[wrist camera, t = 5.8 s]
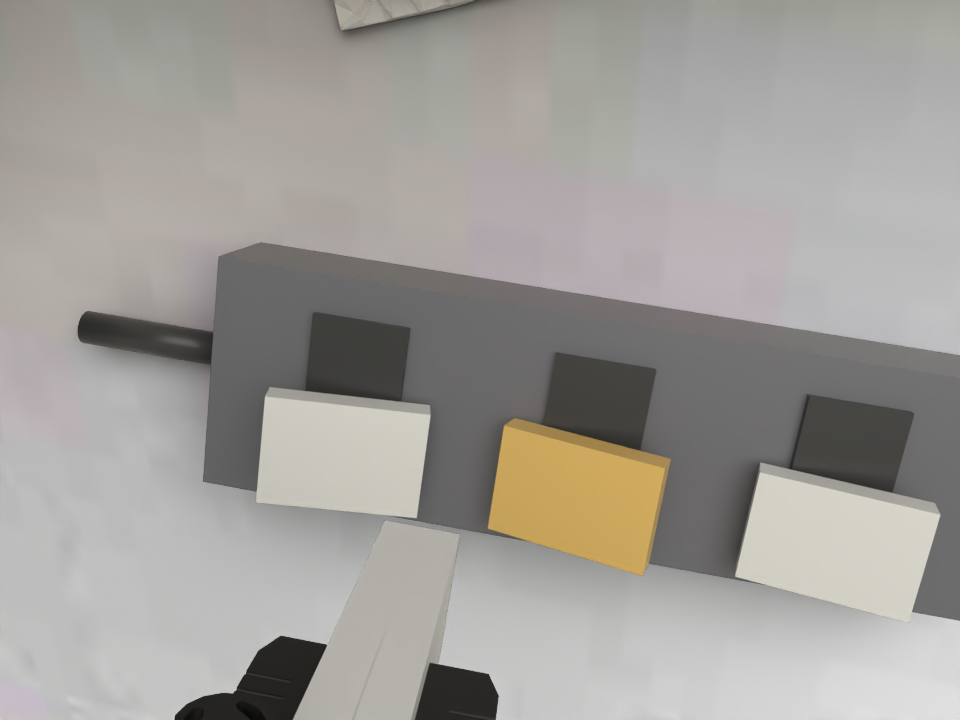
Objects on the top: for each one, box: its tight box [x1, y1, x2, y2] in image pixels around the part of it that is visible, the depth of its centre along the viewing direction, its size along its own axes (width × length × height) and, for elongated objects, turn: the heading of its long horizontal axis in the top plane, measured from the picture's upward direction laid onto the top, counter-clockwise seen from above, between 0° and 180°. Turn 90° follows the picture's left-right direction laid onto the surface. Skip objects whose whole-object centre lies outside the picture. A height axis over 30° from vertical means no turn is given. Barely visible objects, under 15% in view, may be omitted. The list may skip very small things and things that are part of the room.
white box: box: [256, 387, 431, 518], centre depth 30 cm, size 5×4×1 cm
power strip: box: [78, 243, 960, 621], centre depth 32 cm, size 32×8×4 cm, turn 82°
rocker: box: [735, 462, 940, 623], centre depth 28 cm, size 5×4×1 cm
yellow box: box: [488, 418, 671, 576], centre depth 29 cm, size 5×4×1 cm
